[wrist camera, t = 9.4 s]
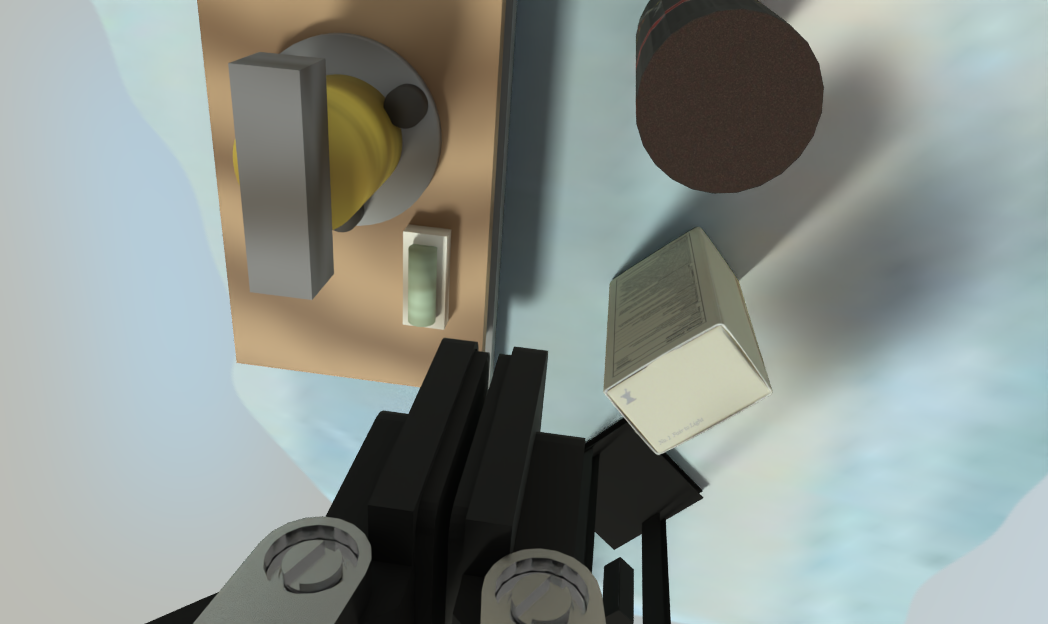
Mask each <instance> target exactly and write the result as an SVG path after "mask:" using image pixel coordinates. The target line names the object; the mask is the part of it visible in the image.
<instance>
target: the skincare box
mask: <svg viewBox="0 0 1048 624" xmlns="http://www.w3.org/2000/svg"><path fill="white" fill-rule="evenodd" d="M603 392H604V393H605V395H606V396H607V397H608V398H609V399H610V401H611V402H612V404H613V405H614V406H615V407H616V408H617V409H618V411H619V412H620V413H621V414H622V416H623V417H624V418H625V419H626V421H627V422H628V423H629V424H630V425H631V426H632V428H633V429H634V430H635V432H636V433H637V434H638V435H639V436H640V437H641V438H642V440H643V441H644V442H645V443H646V444H647V445H648V446H649V447H650V448H651V449H652V451H653V452H654V453H655V454H657V455H660V454H662V453H664V452H666V451H668V450H671V449H672V448H674V447H677V446H679V445H681V444H683V443H684V442H686V441H688V440H690V439H692V438H694V437H696V436H698V435H700V434H702V433H703V432H705V431H707V430H709V429H711V428H713V427H714V426H716V425H718V424H720V423H722V422H724V421H725V420H727V419H729V418H731V417H733V416H735V415H736V414H738V413H740V412H742V411H743V410H745V409H747V408H749V407H751V406H753V405H754V404H756V403H758V402H760V401H761V400H763V399H765V398H766V397H768V396H770V395H771V394H772V393H773V391H772V388H771V385H770V381H769V378H768V375H767V372H766V369H765V365H764V362H763V359H762V356H761V352H760V349H759V346H758V343H757V340H756V336H755V333H754V330H753V327H752V324H751V320H750V317H749V314H748V311H747V307H746V304H745V301H744V297H743V294H742V291H741V287H740V284H739V281H738V280H737V278H736V277H735V275H734V274H733V272H732V271H731V269H730V268H729V266H728V265H727V263H726V262H725V260H724V259H723V257H722V256H721V255H720V253H719V252H718V250H717V249H716V247H715V246H714V245H713V243H712V242H711V240H710V239H709V238H708V236H707V235H706V234H705V232H704V231H703V230H702V228H700V227H696V228H694V229H692V230H690V231H689V232H687V233H685V234H684V235H682V236H681V237H679V238H677V239H676V240H674V241H672V242H671V243H669V244H668V245H666V246H664V247H663V248H661V249H660V250H658V251H656V252H655V253H653V254H652V255H650V256H649V257H647V258H645V259H644V260H642V261H641V262H639V263H638V264H636V265H634V266H633V267H631V268H630V269H628V270H627V271H625V272H624V273H622V274H621V275H619V276H618V277H617V278H615V279H614V280H612V281H611V282H610V287H609V306H608V322H607V340H606V357H605V374H604V389H603Z"/></svg>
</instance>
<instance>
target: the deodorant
mask: <svg viewBox="0 0 1048 624" xmlns="http://www.w3.org/2000/svg"><path fill="white" fill-rule="evenodd" d="M823 90H824V86H823V81H822V76H821V71H820V66H819V63H818V61H817V59H816V57H815V55H814V53H813V52H812V50H811V48H810V46H809V44H808V42H807V41H806V40H805V39H804V38H803V37H802V36H801V35H800V34H799V33H798V32H797V31H796V30H795V29H794V28H793V27H792V26H791V25H790V24H788V23H787V22H786V21H784V20H783V19H782V18H780V17H779V16H778V15H776V14H775V13H774V12H772V11H771V10H770V9H768V8H767V7H766V6H764V5H763V4H762V3H760V2H759V1H758V0H650V1H649V3H648V4H647V6H646V8H645V10H644V12H643V14H642V16H641V18H640V20H639V25H638V29H637V33H636V124H637V127H638V130H639V134H640V137H641V140H642V144H643V146H644V148H645V149H646V151H647V152H648V154H649V156H650V157H651V159H652V160H653V162H654V163H655V165H656V166H657V167H659V168H660V169H661V170H662V171H663V172H664V173H665V174H666V175H668V176H669V177H670V178H671V179H672V180H674V181H676V182H678V183H680V184H683V185H685V186H687V187H689V188H691V189H694V190H699V191H704V192H709V193H737V192H741V191H744V190H747V189H751V188H754V187H758V186H761V185H762V184H764V183H766V182H768V181H769V180H771V179H773V178H775V177H776V176H778V175H780V174H782V173H783V172H784V171H785V170H786V169H787V168H788V167H789V166H790V165H791V164H792V163H793V162H795V161H796V160H797V159H798V158H799V157H800V156H801V154H802V152H803V151H804V149H805V148H806V146H807V145H808V143H809V142H810V140H811V139H812V137H813V136H814V133H815V130H816V127H817V124H818V121H819V119H820V116H821V113H822V103H823Z"/></svg>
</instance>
